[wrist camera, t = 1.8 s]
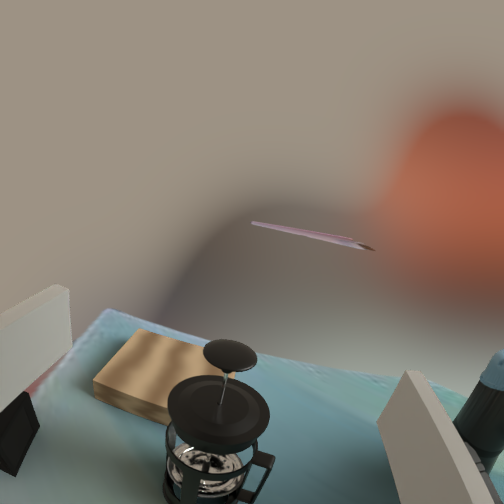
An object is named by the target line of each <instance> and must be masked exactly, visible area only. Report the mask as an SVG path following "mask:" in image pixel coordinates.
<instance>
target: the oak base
mask: <svg viewBox="0 0 504 504" xmlns="http://www.w3.org/2000/svg"><path fill="white" fill-rule="evenodd" d="M203 348H204V347H201V346H197V345H194V344H190V343H186V342H183V341H179V340H176V339H172V338H169V337H166V336H162V335H159V334H156V333H153V332H149V331H146V330H143V329H140V328H139V329H138V330H137V331H136V332H135V333H134V334H133V336H132V337H131V338H130V339H129V340H128V341H127V342H126V343H125V344H124V345H123V347H122V348H121V349H120V350H119V351H118V352H117V353H116V354H115V355H114V356H113V358H112V359H111V360H110V361H109V362H108V363H107V364H106V365H105V366H104V368H103V369H102V370H101V371H100V372H99V373H98V374H97V375H96V377H95V378H94V379H93V387H94V394H95V398H96V399H98V400H100V401H103V402H105V403H107V404H110V405H112V406H114V407H117V408H119V409H122V410H124V411H127V412H129V413H132V414H135V415H137V416H140V417H143V418H146V419H149V420H151V421H154V422H157V423H160V424H163V425H166V426H168V425H169V423H170V422H171V418H170V416H169V413H168V409H167V400H168V396H169V393H170V391H171V390H172V389H173V387H174V386H175V385H177V384H178V383H179V382H181V381H183V380H185V379H187V378H190V377H194V376H200V375H218V376H223V375H224V372H222V370H221V369H219V368H217V367H215V366H213V365H211V364H210V363H209V362H208V361H207V360H206V359H205V357H204V355H203ZM228 377H229V378H232V379H234V377H235V372H232V373H230V374H228Z"/></svg>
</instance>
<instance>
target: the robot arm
mask: <svg viewBox="0 0 504 504" xmlns="http://www.w3.org/2000/svg"><path fill="white" fill-rule="evenodd" d="M72 347H73V345H72V335H71V321H70V301H69V289H68V288H65V287H63V286H60V285H57V284H54V285H52V286H51V287H48V288H46V289H45V290H43V291H41V292H39V293H37V294H35V295H33V296H32V297H30V298H28V299H26V300H24V301H22V302H21V303H19V304H17V305H15V306H13V307H12V308H10V309H8V310H6V311H4V312H3V313H1V314H0V412H1V411H2V410H3V409H4V408H6V407H7V406H8V405H9V404H10V403H11V402H12V401H13V400H14V399H15V398H16V397H17V396H18V395H19V394H20V393H22V392H23V391H24V390H25V389H26V388H27V387H28V386H29V385H30V384H31V383H32V382H34V381H35V379H37V378H38V377H39V376H40V375H41V374H42V373H44V372H45V371H46V370H47V369H48V368H49V367H50V366H51V365H52V364H54V363H55V362H56V361H57V360H58V359H59V358H61V357H62V356H63V355H64V354H65V353H66V352H67V351H69V350H70V349H71V348H72ZM377 425H378V428H379V431H380V434H381V438H382V441H383V444H384V447H385V450H386V454H387V457H388V460H389V464H390V467H391V470H392V474H393V477H394V481H395V484H396V488H397V491H398V495H399V499H400V502H401V504H503V503H502V501H501V499H500V497H499V495H498V493H497V491H496V489H495V487H494V485H493V483H492V481H491V479H490V477H489V473H490V472H491V470H492V468H493V466H494V464H495V462H496V460H497V458H498V456H499V454H500V453H501V452H502V451H503V450H504V349H502V350H500V351H498V352H497V353H495V355H494V356H493V357H492V359H491V360H490V362H489V364H488V366H487V367H486V369H485V370H484V371H483V372H482V374H481V376H480V380H479V382H478V384H477V385H476V387H475V389H474V390H473V392H472V393H471V395H470V397H469V398H468V400H467V401H466V403H465V404H464V406H463V407H462V409H461V410H460V412H459V413H458V415H457V416H456V418H455V419H454V421H453V422H452V421H451V419H450V418H449V416H448V414H447V413H446V411H445V409H444V407H443V406H442V404H441V402H440V401H439V399H438V398H437V396H436V394H435V393H434V391H433V389H432V388H431V386H430V385H429V383H428V381H427V380H426V378H425V377H424V375H423V374H422V372H421V371H411V370H405V372H404V374H403V376H402V378H401V380H400V381H399V383H398V385H397V387H396V389H395V391H394V393H393V394H392V396H391V398H390V400H389V401H388V403H387V405H386V407H385V408H384V410H383V412H382V413H381V415H380V417H379V418H378V420H377Z"/></svg>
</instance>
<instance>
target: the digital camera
mask: <svg viewBox="0 0 504 504" xmlns="http://www.w3.org/2000/svg"><path fill="white" fill-rule="evenodd" d="M39 427H40V425H39V422H38V420H37V417H36V414H35V411H34V408H33V405H32V402H31V399H30V396H29V393H27V392H25V391H23V392H22V393H20V394H19V395H18V396H17V397H16V398H15V399H14V400H13V401H12V402H11V403H10V404H9V405H8V406H7V407H6V408H4V409H3V410H2V411H1V412H0V469H1V470H3V471H4V472H6V473H8V474H10V475H12V476H14V477H16V475H17V473H18V470H19V468H20V466H21V464H22V462H23V459H24V457H25V455H26V453H27V451H28V449H29V447H30V445H31V443H32V441H33V439H34V437H35V435H36V433H37V431H38V429H39Z"/></svg>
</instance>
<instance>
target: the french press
mask: <svg viewBox="0 0 504 504" xmlns="http://www.w3.org/2000/svg"><path fill="white" fill-rule="evenodd" d="M203 355H204V357H205V359H206V360H207V361H208V362H209V363H210V364H211V365H213V366H215V367H217V368H219V369H221V370H222V372H224V375H223V376H218V375H200V376H194V377H190V378H187V379H185V380H183V381H181V382H179V383H178V384H177V385H175V386H174V387H173V389H172V390H171V391H170V393H169V396H168V400H167V409H168V413H169V416H170V418H171V422H170V423H169V425H168V427H167V430H166V441H165V447H166V451H167V456H166V471H165V479H164V482H163V493H164V497H165V499H166V501H167V502H168V504H196V501H197V497H200V498H217V497H222V496H224V495H227V494H229V497H228V500H227V501H226V503H225V504H237V503H238V500H239V501H242V502H245V503H248V504H253V503H254V502H255V500H256V498H257V496H258V494H259V493H260V491H261V489H262V487H263V485H264V483H265V481H266V479H267V478H268V476H269V474H270V472H271V470H272V467H273V464H274V461H275V456H273V455H270V454H267V453H264V452H261V451H258V442H257V438H258V437H259V436H260V435H261V434H262V433H263V432H264V431H265V429H266V428H267V426H268V423H269V419H270V411H269V408H268V405H267V403H266V401H265V400H264V398H263V397H262V396H261V395H260V394H259V393H258V392H257V391H256V390H254V389H253V388H252V387H250V386H248V385H247V384H245V383H243V382H240V381H238V380H235V379H232V378H229V377H228V374H230V373H232V372H243V371H247V370H249V369H251V368H253V367H254V366H255V365H256V363H257V356H256V354H255V352H254V351H253V350H252V349H251V348H250V347H248V346H246V345H244V344H243V343H240V342H237V341H233V340H226V339H225V340H224V339H220V340H214V341H211V342H209V343H207V344H206V345H205V347H204V348H203ZM176 434H177V435H178V436H179V437H180V438H181V439H182V440H183V441H184V442H185V443H183V444H180V445H179V446H177V447H176V448H175V441H176ZM251 445H252V447H253V457H252V459H251V460H250V461H249V462H248V463H247V464H246V465H245V466H243V463H242V461H241V459H240V458H239V457H238V455H237V454H236V453H238V452H241V451H243V450H245V449H247V448H249V447H250V446H251ZM252 464H254V465H257V466H260V467H264V468H266V471H265V473H264V475H263V477H262V479H261V481H260V483H259V485H258V487H257V489H256V491H255V492H251V491H248V490H245V489H242V487H243V485H244V483H245V480H246V478H247V476H248V473H249V471H250V468H251V466H252ZM245 472H246V473H245ZM244 473H245V476H244ZM174 482H175V483H176V484H177V486H178V487H179V488H181V498H180V500H179V499H178V498H177V497H176V495H175V493H174V490H173V485H174Z"/></svg>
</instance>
